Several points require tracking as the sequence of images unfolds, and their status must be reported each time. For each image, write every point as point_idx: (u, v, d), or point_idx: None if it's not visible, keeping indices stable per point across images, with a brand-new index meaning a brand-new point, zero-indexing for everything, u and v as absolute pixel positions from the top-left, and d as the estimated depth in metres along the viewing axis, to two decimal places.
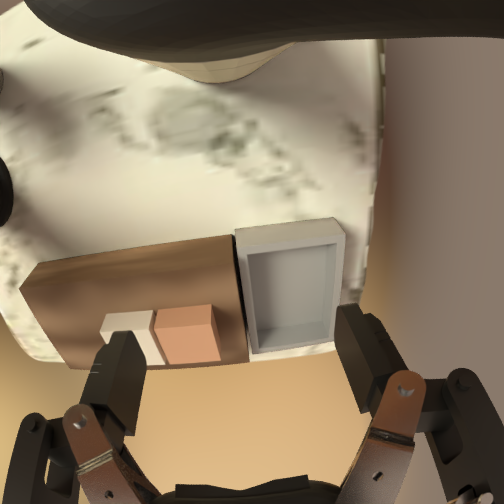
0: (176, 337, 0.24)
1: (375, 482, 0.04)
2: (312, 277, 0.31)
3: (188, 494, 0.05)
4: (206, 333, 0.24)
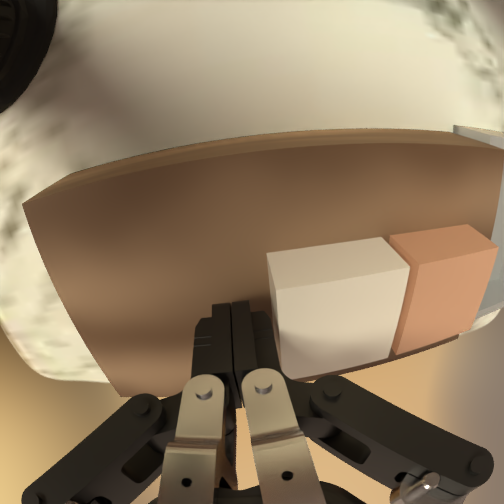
0: (445, 284, 0.10)
1: (288, 481, 0.05)
2: None
3: None
4: (485, 269, 0.10)
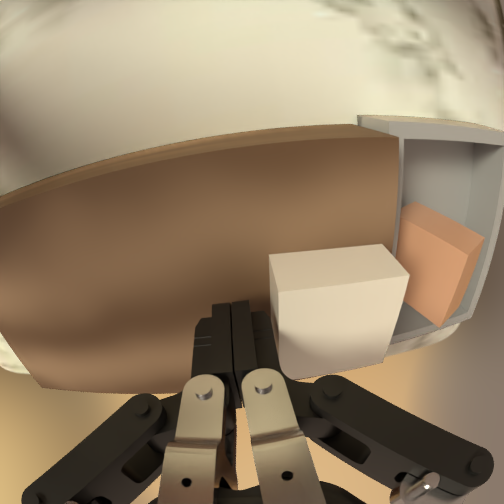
0: None
1: (288, 481, 0.05)
2: (453, 215, 0.17)
3: None
4: None
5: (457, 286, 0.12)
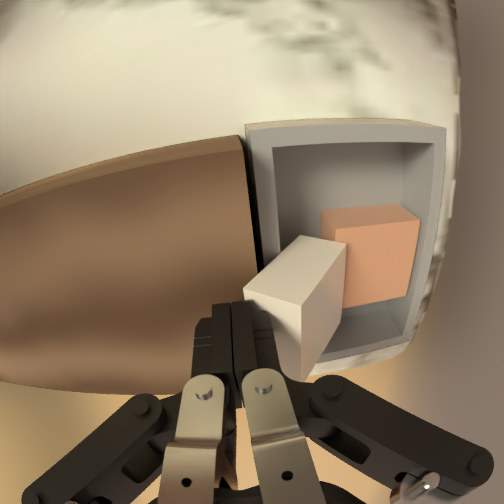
0: None
1: (288, 481, 0.05)
2: None
3: None
4: None
5: (414, 251, 0.15)
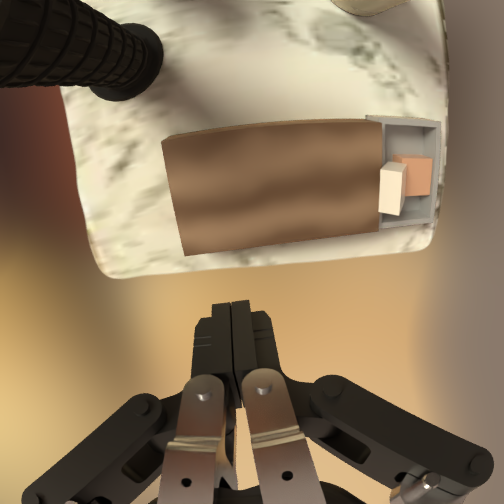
0: None
1: (288, 481, 0.05)
2: None
3: None
4: None
5: (431, 173, 0.32)
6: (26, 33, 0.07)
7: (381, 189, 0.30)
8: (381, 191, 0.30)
